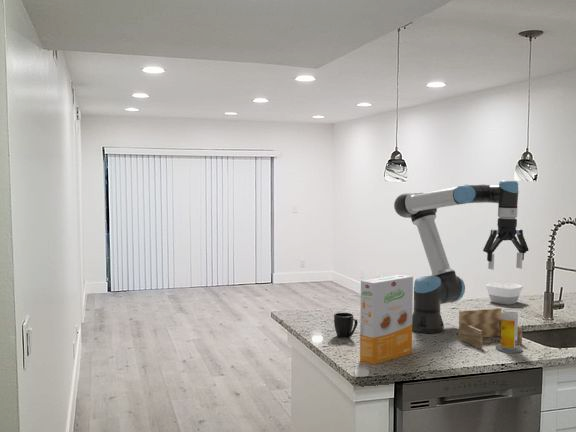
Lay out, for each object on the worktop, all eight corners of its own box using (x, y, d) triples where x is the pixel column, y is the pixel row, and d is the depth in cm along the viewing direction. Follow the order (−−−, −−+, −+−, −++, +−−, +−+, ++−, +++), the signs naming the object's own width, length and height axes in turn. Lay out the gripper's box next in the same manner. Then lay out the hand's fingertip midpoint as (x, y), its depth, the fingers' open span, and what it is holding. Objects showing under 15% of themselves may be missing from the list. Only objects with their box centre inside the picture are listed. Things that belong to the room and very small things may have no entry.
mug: (348, 342, 241) (348, 319, 240) (330, 335, 251) (330, 314, 250) (363, 339, 246) (363, 317, 245) (344, 333, 255) (344, 311, 255)
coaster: (506, 354, 225) (506, 352, 225) (490, 347, 235) (490, 345, 235) (528, 351, 228) (528, 350, 228) (511, 344, 238) (511, 343, 238)
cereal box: (399, 349, 231) (400, 274, 229) (411, 352, 226) (413, 276, 225) (360, 360, 217) (360, 280, 215) (372, 364, 212) (373, 283, 210)
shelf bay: (479, 348, 233) (480, 318, 232) (458, 338, 247) (459, 310, 246) (521, 344, 239) (522, 315, 238) (499, 335, 253) (499, 307, 252)
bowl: (497, 297, 334) (498, 281, 333) (527, 302, 320) (527, 285, 319) (480, 301, 322) (481, 284, 321) (510, 307, 309) (511, 289, 308)
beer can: (503, 344, 236) (504, 308, 235) (519, 347, 232) (520, 310, 231) (498, 348, 231) (499, 310, 230) (514, 351, 227) (515, 313, 226)
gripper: (486, 219, 235) (484, 271, 236) (539, 218, 241) (536, 269, 243) (475, 217, 242) (473, 268, 243) (527, 217, 248) (524, 266, 250)
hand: (505, 268), depth 243 cm, fingers open, 13 cm apart
